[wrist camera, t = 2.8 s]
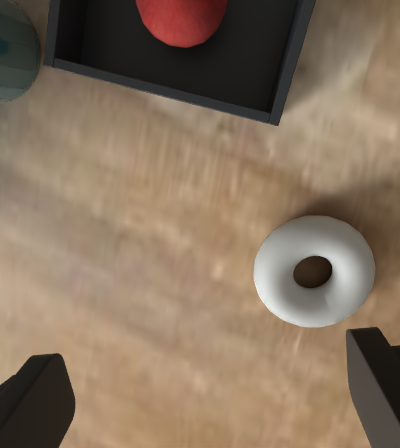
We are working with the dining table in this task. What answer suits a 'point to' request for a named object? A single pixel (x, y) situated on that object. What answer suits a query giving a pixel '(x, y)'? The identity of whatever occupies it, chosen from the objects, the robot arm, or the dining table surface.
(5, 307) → the dining table surface
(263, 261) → the donut
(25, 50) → the cup
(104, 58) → the black open box
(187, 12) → the onion
